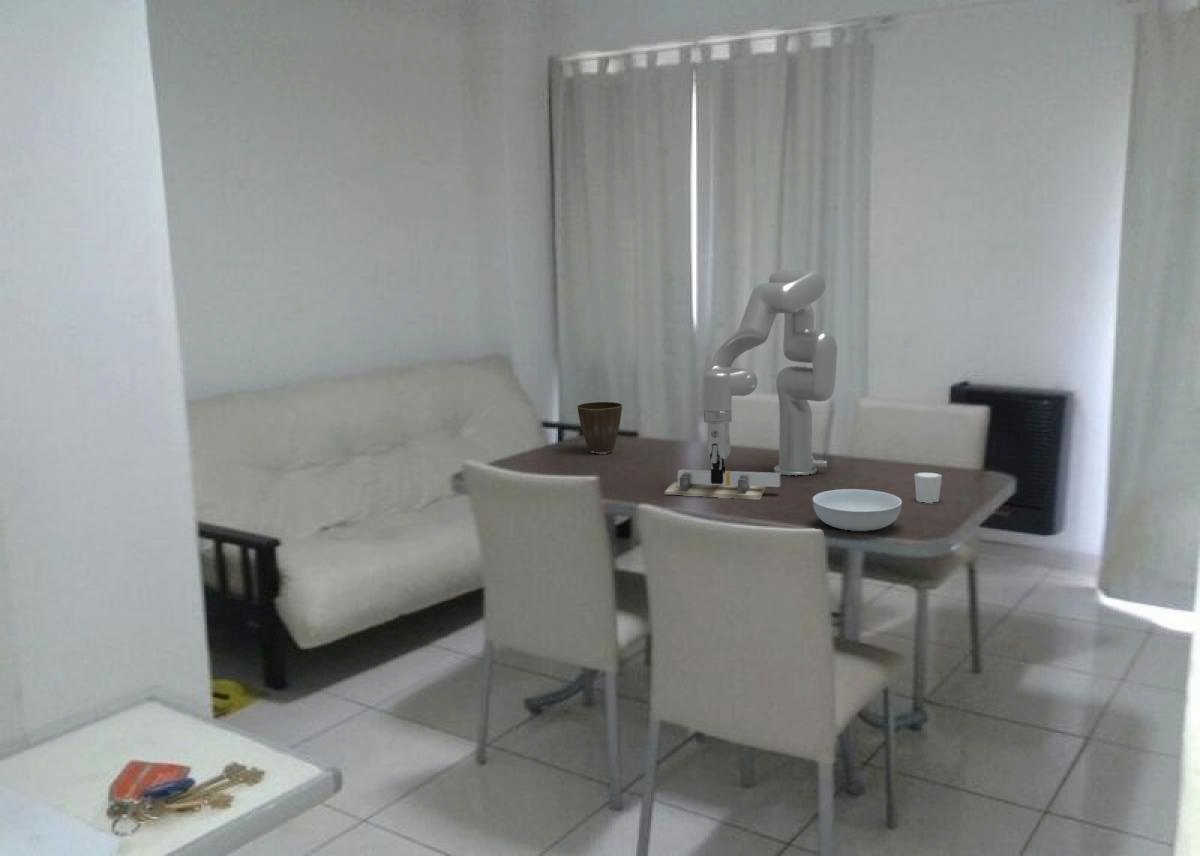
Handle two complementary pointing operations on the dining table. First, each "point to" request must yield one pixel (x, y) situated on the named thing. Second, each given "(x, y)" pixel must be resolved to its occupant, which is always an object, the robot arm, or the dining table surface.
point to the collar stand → (716, 489)
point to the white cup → (927, 487)
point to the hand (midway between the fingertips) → (718, 481)
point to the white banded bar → (733, 477)
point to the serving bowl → (857, 509)
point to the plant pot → (600, 424)
